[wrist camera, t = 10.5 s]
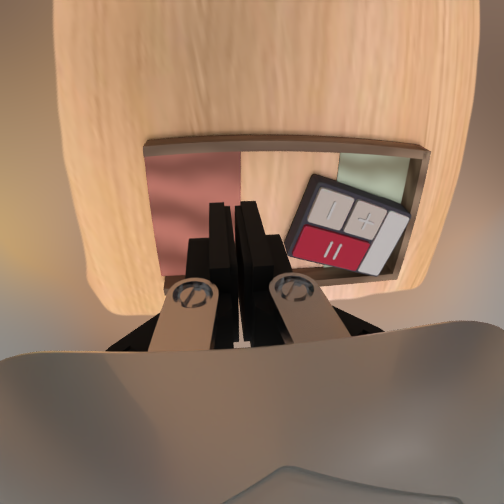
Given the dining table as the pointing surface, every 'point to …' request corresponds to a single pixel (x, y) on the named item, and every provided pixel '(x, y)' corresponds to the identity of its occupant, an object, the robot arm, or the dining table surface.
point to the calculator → (345, 227)
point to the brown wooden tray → (229, 181)
